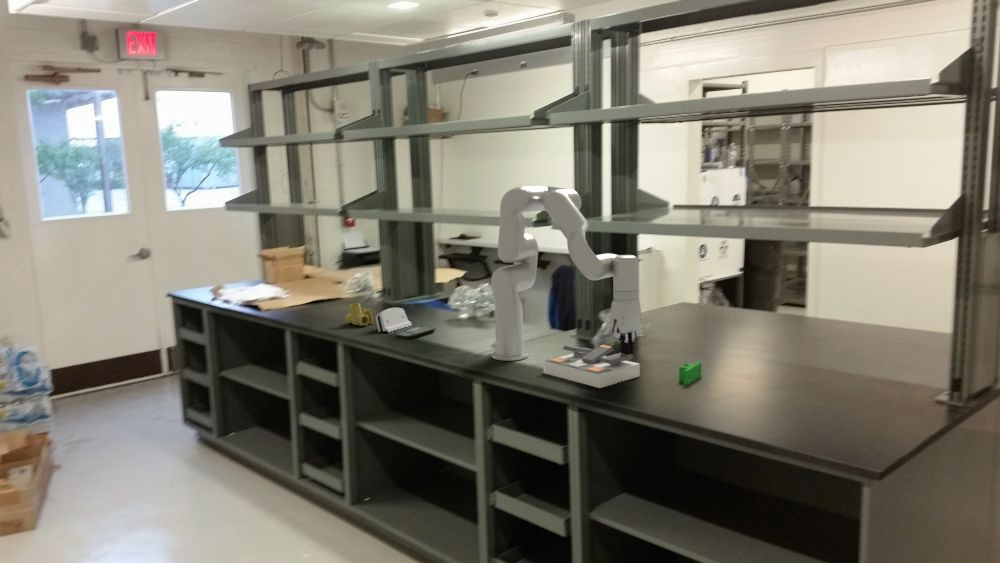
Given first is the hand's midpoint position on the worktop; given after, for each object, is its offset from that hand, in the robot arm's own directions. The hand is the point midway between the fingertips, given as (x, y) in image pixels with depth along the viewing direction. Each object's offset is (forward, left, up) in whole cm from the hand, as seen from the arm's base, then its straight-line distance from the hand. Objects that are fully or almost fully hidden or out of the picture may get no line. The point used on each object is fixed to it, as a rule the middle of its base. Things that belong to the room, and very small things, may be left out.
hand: (626, 354), depth 236 cm
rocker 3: (0, -5, -1) cm, 5 cm away
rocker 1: (-16, -5, -1) cm, 17 cm away
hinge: (-116, -12, -7) cm, 117 cm away
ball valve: (-135, -17, -7) cm, 136 cm away
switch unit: (-8, -8, -7) cm, 13 cm away
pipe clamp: (+17, +9, -7) cm, 20 cm away
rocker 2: (-8, -5, -1) cm, 9 cm away
